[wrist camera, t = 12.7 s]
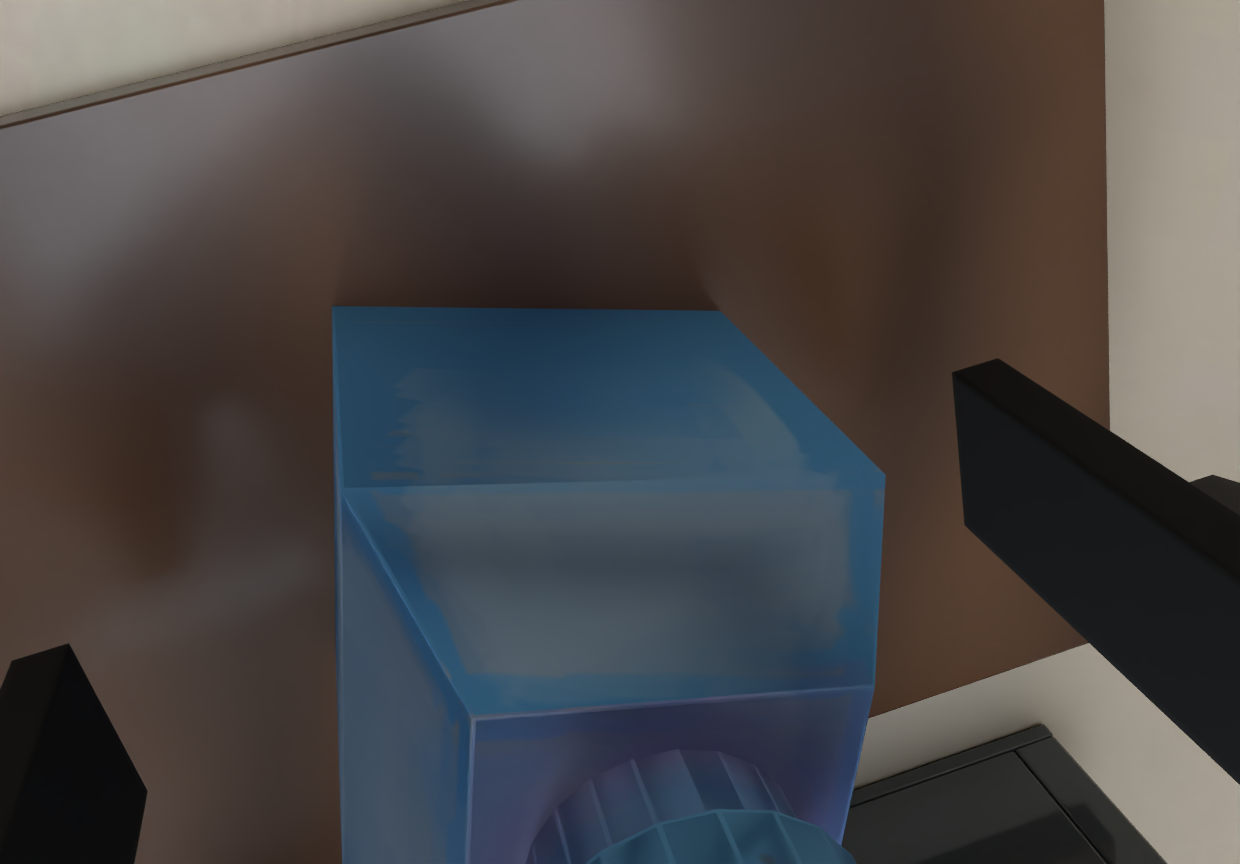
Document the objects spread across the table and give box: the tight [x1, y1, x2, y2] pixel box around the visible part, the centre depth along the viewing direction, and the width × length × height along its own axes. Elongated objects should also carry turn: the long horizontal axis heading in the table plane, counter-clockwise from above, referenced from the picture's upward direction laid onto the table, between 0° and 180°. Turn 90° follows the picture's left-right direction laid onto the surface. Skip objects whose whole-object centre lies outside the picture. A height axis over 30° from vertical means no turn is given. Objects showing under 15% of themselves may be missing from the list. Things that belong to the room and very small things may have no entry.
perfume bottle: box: [332, 306, 886, 864], centre depth 14 cm, size 6×6×12 cm
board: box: [0, 0, 1110, 864], centre depth 20 cm, size 22×15×1 cm
